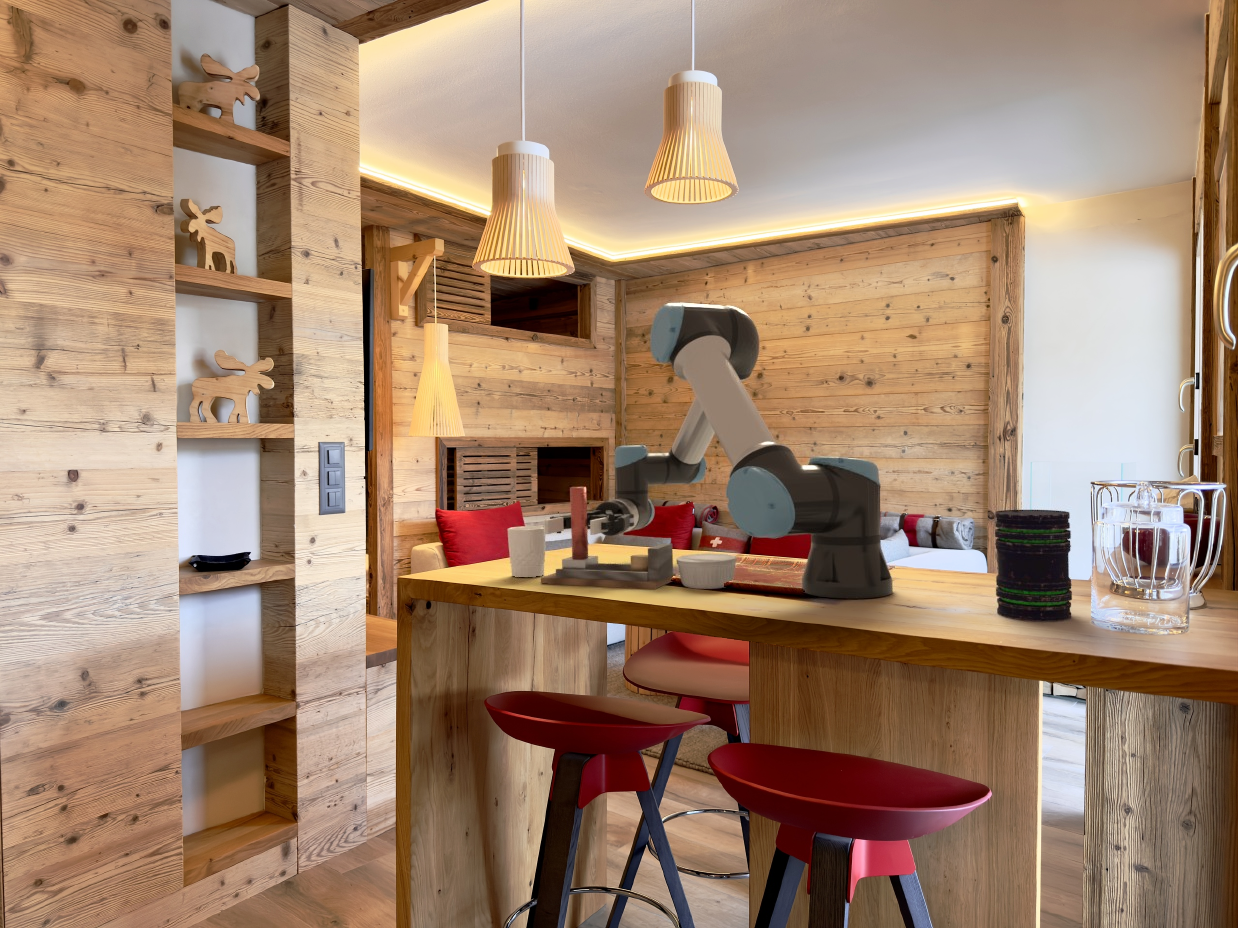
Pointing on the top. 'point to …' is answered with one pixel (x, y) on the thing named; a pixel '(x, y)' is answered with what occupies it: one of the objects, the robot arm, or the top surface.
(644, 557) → the nut
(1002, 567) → the dark brown cylinder
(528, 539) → the white cup
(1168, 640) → the top surface
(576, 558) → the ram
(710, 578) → the ramekin
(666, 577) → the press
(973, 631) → the top surface
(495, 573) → the top surface
